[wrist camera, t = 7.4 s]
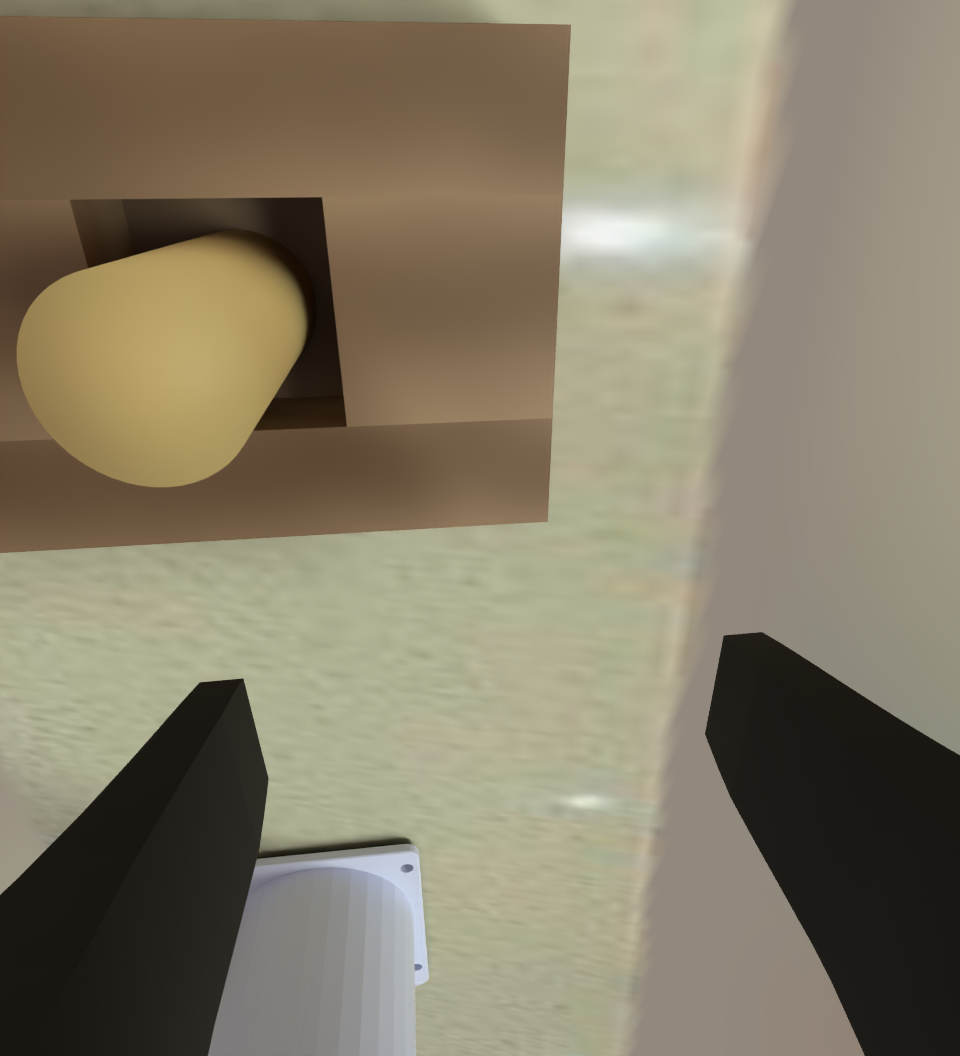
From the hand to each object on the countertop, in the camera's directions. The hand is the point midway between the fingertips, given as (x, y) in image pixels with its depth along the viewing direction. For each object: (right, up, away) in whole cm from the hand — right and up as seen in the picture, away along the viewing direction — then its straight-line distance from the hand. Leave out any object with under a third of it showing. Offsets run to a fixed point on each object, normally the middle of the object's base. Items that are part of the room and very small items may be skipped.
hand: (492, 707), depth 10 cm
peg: (-6, +8, +6) cm, 11 cm away
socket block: (-6, +8, +6) cm, 12 cm away
